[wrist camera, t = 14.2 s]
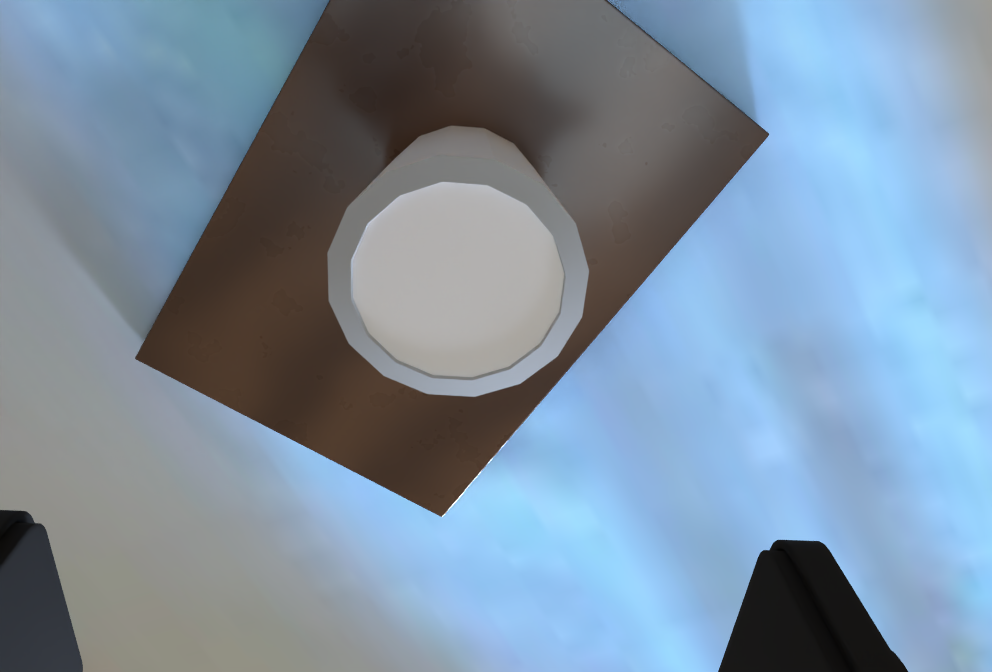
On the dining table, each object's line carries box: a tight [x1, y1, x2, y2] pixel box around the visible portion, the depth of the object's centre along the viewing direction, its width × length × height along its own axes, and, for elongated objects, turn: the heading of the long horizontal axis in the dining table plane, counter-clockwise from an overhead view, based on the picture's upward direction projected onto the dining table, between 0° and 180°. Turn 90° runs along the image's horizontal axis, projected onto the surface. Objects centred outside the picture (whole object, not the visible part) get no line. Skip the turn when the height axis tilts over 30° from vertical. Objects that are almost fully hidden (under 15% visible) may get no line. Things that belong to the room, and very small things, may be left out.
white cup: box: [327, 126, 589, 397], centre depth 22 cm, size 7×7×7 cm
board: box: [135, 0, 769, 517], centre depth 26 cm, size 14×20×1 cm
